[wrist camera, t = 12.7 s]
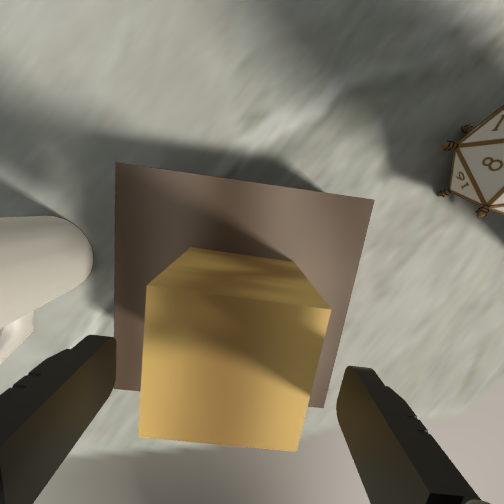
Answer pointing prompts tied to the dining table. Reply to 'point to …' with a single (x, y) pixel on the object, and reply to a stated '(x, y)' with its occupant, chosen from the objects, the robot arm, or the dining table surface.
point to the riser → (229, 246)
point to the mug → (36, 270)
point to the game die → (479, 164)
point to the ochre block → (230, 351)
